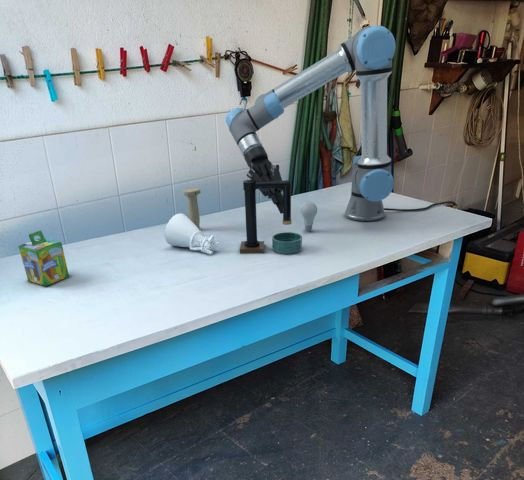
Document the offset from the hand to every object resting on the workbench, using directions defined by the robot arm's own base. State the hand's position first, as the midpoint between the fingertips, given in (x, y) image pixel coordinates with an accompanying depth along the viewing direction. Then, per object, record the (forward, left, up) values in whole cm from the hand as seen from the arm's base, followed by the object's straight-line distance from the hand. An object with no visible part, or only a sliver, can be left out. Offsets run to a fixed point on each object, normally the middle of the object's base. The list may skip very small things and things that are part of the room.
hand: (284, 211), depth 175 cm
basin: (-1, +4, -12) cm, 13 cm away
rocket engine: (+32, +3, -12) cm, 35 cm away
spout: (+5, +3, -3) cm, 7 cm away
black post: (+11, +3, -12) cm, 17 cm away
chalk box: (+73, +27, -12) cm, 79 cm away
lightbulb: (-9, -15, -12) cm, 22 cm away
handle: (+34, -19, -12) cm, 41 cm away
